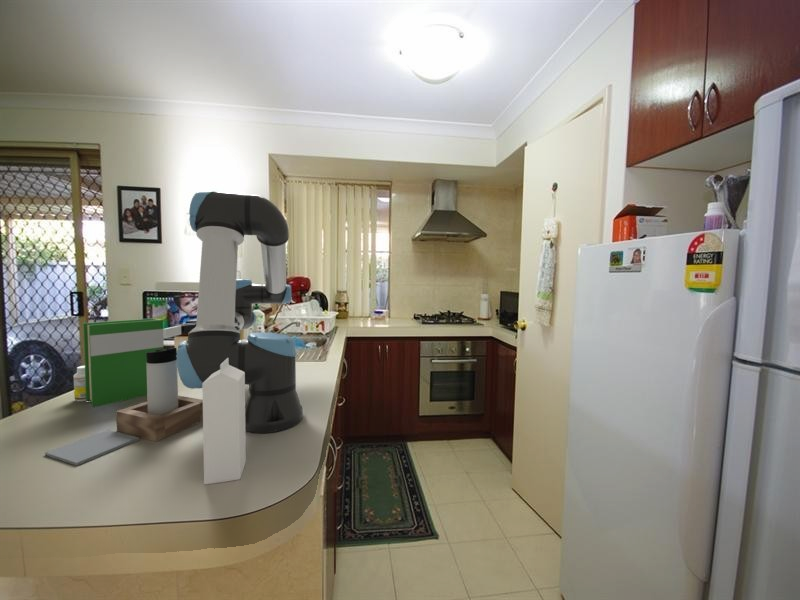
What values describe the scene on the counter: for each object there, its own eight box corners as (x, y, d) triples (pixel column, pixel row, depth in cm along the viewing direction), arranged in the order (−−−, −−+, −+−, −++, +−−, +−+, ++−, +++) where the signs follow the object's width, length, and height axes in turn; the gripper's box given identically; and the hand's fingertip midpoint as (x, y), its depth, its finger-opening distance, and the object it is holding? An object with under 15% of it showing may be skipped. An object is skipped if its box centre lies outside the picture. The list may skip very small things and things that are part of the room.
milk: (204, 485, 57) (200, 366, 56) (213, 466, 63) (210, 358, 62) (240, 479, 59) (238, 363, 58) (246, 461, 65) (244, 356, 63)
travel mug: (163, 431, 77) (161, 351, 76) (141, 428, 78) (139, 349, 77) (185, 420, 83) (184, 346, 82) (164, 418, 85) (163, 344, 84)
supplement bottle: (92, 394, 101) (90, 363, 101) (104, 396, 100) (103, 364, 99) (69, 400, 96) (68, 367, 95) (82, 403, 94) (80, 369, 94)
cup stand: (207, 418, 85) (207, 400, 84) (156, 441, 72) (155, 420, 72) (170, 411, 89) (170, 393, 89) (116, 431, 77) (116, 411, 77)
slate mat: (138, 440, 73) (138, 437, 73) (76, 465, 63) (76, 462, 63) (107, 432, 77) (107, 429, 76) (45, 455, 66) (44, 452, 66)
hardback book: (92, 407, 91) (89, 325, 90) (86, 401, 95) (83, 323, 94) (164, 390, 106) (162, 319, 104) (156, 386, 110) (154, 318, 109)
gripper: (263, 334, 112) (232, 347, 91) (192, 333, 111) (144, 346, 90) (263, 313, 111) (232, 321, 90) (191, 312, 111) (143, 320, 90)
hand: (188, 334), depth 90 cm, fingers open, 13 cm apart
